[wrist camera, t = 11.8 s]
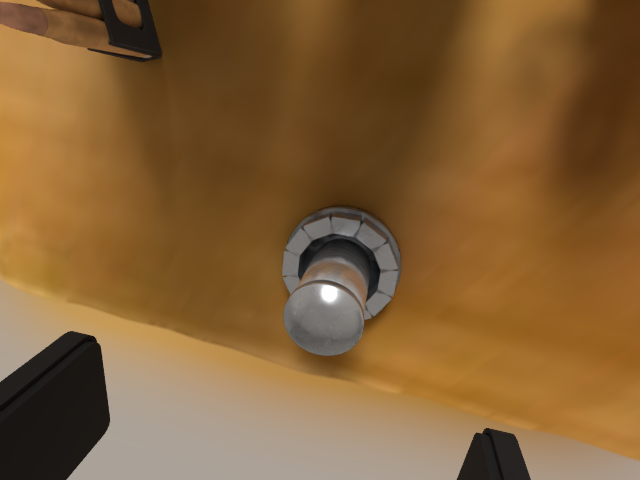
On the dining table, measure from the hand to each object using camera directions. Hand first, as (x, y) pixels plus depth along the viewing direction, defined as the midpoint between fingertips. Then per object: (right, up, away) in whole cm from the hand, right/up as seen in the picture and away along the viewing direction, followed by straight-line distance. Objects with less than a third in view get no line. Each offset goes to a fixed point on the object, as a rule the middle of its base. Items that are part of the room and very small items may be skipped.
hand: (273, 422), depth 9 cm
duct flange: (+3, +3, +21) cm, 21 cm away
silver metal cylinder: (+3, +2, +20) cm, 20 cm away
